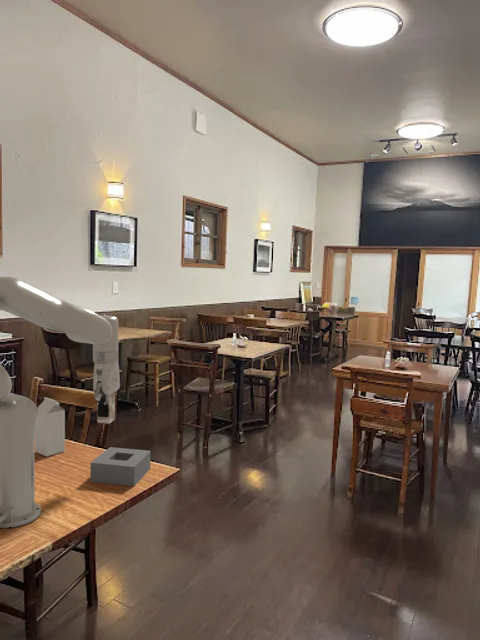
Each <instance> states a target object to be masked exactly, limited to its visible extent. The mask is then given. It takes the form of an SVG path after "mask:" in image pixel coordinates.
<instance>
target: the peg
mask: <svg viewBox="0 0 480 640" xmlns="http://www.w3.org/2000/svg"><path fill="white" fill-rule="evenodd" d="M101 394H104V392H101ZM101 397H103V398H104V397H105V396H101ZM115 398H116V391H115V392H114V393H112V394H110V395H108V399H107V404H108V409H109V416H108V417H98V404H97V403H96V409H97V410H96V417H97V418H96V420H97V421H96V422H97V424H111V423H112V422H114V421H115V420H116V409H115V407H116V406H115V405H116V403H115V401H116V400H115Z"/></svg>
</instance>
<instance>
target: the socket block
mask: <svg viewBox="0 0 480 640" xmlns="http://www.w3.org/2000/svg"><path fill="white" fill-rule="evenodd" d="M150 469H151V450H146V449H134V448H124V447H113V446H110V447H108V448H107V449H105V451H103V452H102V453H101V454H100V455H98V456H97V457H96V458H95V459H93V460H92V461H91V462H90V471H89V472H90V474H89V475H90V478H89V479H90V482H91V483H98V484H107V485H118V486H127V487H135V486H137V484H138V483H139V482H140V481H141V479H143V477H144V476H145V475H147V473H148V472H149V471H150ZM148 470H149V471H148Z"/></svg>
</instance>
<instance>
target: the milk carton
mask: <svg viewBox="0 0 480 640" xmlns="http://www.w3.org/2000/svg"><path fill="white" fill-rule="evenodd" d="M43 399H44V400H43V401H42V402H41V403H40V404H39V405H38V407H37V409H38V422H37V426H36V431H35V441H34V453H37V454H40V455H42V456H45V457H50V456H53V455H57V454H60V453H62V452H65V450H66V448H65V446H66V445H65V443H66V438H65V437H66V432H65V431H66V429H65V428H66V414H65V412H66V410H65V409H64V408H63V407H61V406H60V403H59V402H57V400H55V399H52V398H48V397H45V396H44V397H43Z"/></svg>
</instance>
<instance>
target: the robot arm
mask: <svg viewBox="0 0 480 640" xmlns="http://www.w3.org/2000/svg"><path fill="white" fill-rule="evenodd" d="M0 311H4V312H7V313H8V314H11V315H14V316H16V317H19V318H21V319H23V320H26V321H27V322H29V323H31V324H34V325H36V326H38V327H42V328H45V329H49V330H54V331H59V332H63V333H64V332H65V335H66V337H67V338H68V339H69V340H71V341H72V342H76V343H81V344H90V345H92V362H93V363H94V364H93V365H94V366H93V378H92V379H93V381H92V382H93V383H92V384H93V386H92V388H93V393H94V399H95V400H96V405H97V404H98V417H108V416H109V409H108V404H107V399H108V395H110V394H112V393H114V392H115V393H116V391H118V390H119V389H120V387H121V380H120V379H121V378H120V364H119V319H118V318H117V317H116V316H114V315H99V314H97V313H95V312H94V311H92V310H89V309H86V308H84V307H81V306H78V305H76V304H72V303H70V302H68V301H66V300H62V299H60V298H57V297H55V296H53V295H51V294H48V293H46V292H45V291H43V290H41V289H39V288H37V287H36V286H33V285H31V284H29V283H27V282H25V281H23V280H21V279H19V278H16V277H12V276H0ZM12 387H13V382H12V378H11V375H9V373H8V372H7V370H6V369H5V367H4V366H3V365H2V363H1V362H0V528H1V529H9V527H11V528H17V527H20V526H24V525H27V524H29V523H31V522H33V521H34V520H36V519H38V518H39V516H40V515H41V514H42V513H41V512H42V508H41V505H40V504H39V503H38V502H35V431H36V426H37V422H38V409H37V408H38V407H37V405H36V403H35V402H34V401H33V400H32V399H30V398H29V397H27V396H24V395H20V394H16V393H12V392H11V391H12ZM101 392H104V394H101ZM101 396H105V397H104V398H103V397H101Z"/></svg>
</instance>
